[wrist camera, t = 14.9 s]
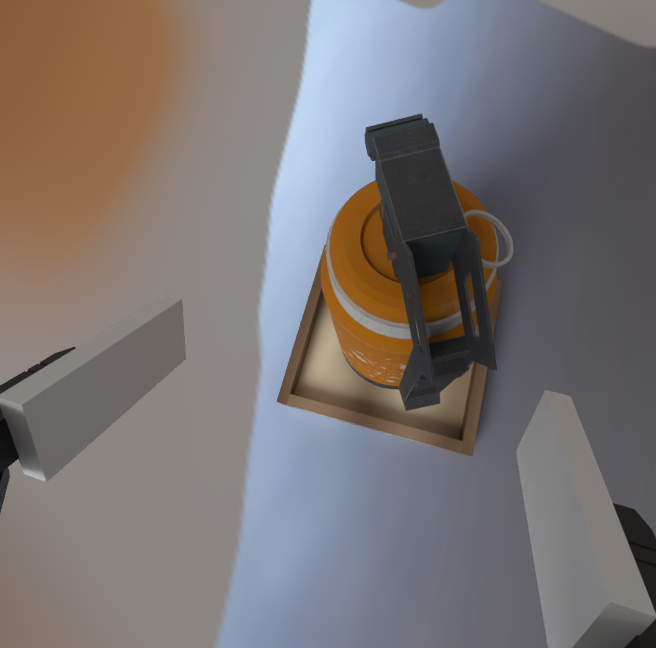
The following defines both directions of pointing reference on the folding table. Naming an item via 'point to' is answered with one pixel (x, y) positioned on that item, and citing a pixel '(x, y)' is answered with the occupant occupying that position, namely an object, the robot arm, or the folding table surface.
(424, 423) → the wooden tray
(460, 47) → the folding table surface
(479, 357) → the canister
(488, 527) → the folding table surface
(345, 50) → the folding table surface
